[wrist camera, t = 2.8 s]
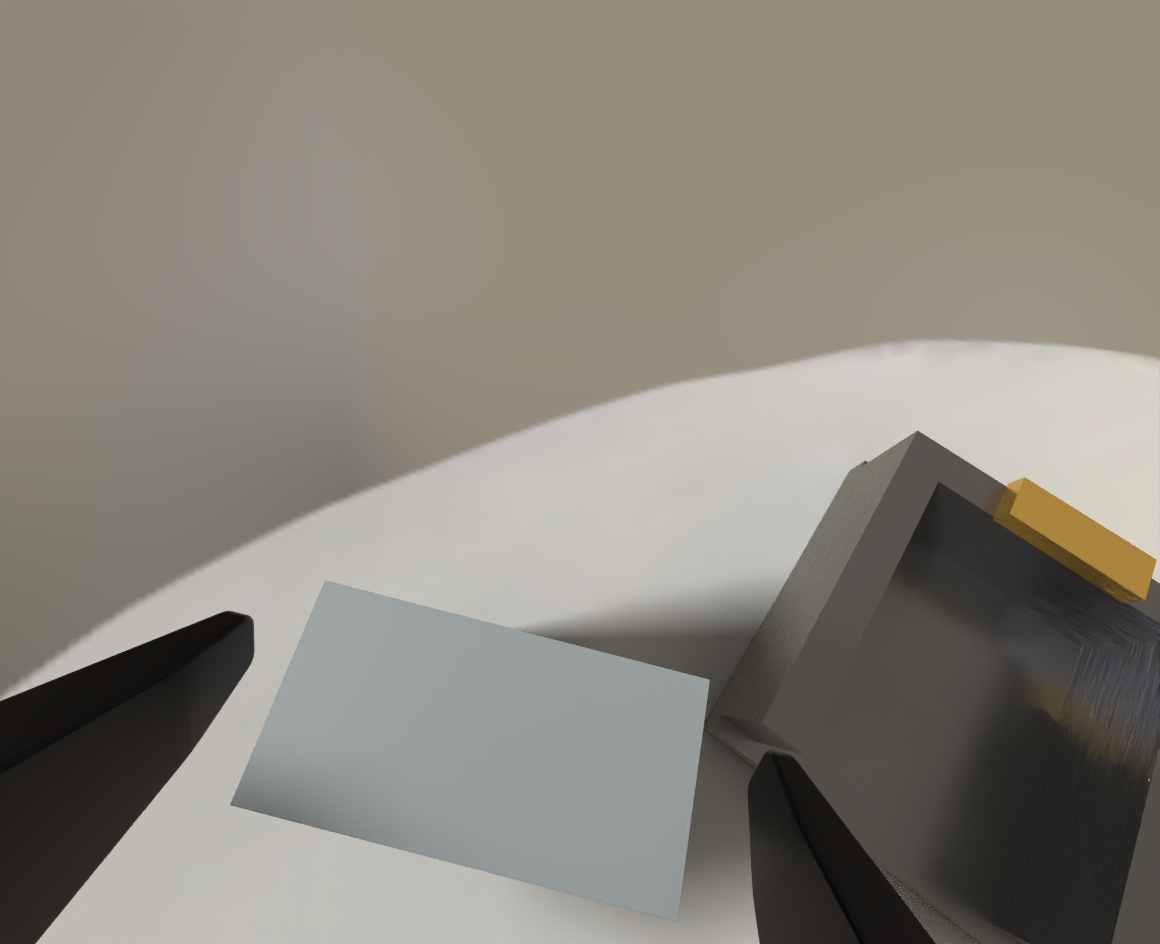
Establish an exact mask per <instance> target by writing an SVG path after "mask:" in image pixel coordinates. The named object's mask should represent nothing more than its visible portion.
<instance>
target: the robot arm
mask: <svg viewBox="0 0 1160 944" xmlns="http://www.w3.org/2000/svg"><path fill="white" fill-rule="evenodd" d="M253 657H254V622H253V619H252V618H251V617H250V616H249V615H245V614H241V613H237V612H233V611H225V612H222V613H219V614H217V615H214V616H212V617H209V618H207V619H204V620H202V621H199V622H197V623H194V624H192V625H189V626H187V627H184V628H182V629H179V630H177V631H174V632H172V633H169V634H167V635H164V636H162V637H159V638H157V639H154V640H152V641H149V642H147V643H144V644H142V645H139V646H137V647H134V648H132V649H129V650H127V651H124V652H122V653H119V654H117V655H114V656H112V657H109V658H107V659H104V660H102V661H99V662H97V663H94V664H92V665H89V666H87V667H84V668H82V669H79V670H77V671H74V672H72V673H69V674H67V675H64V676H62V677H59V678H57V679H54V680H52V681H49V682H47V683H44V684H42V685H39V686H37V687H34V688H32V689H29V690H27V691H24V692H22V693H19V694H17V695H14V696H12V697H9V698H7V699H4V700H2V701H0V944H36V942H37V941H38V940H39V939H40V937H41V936H42V935H43V934H44V933H45V931H46V930H47V929H48V928H49V926H50V925H51V924H52V923H53V921H54V920H55V919H56V918H57V917H58V915H59V914H60V913H61V912H62V910H63V909H64V908H65V907H66V906H67V904H68V903H69V902H70V901H71V899H72V898H73V897H74V896H75V895H76V893H77V892H78V891H79V890H80V888H81V887H82V886H83V885H84V884H85V882H86V881H87V880H88V879H89V877H90V876H91V875H92V874H93V872H94V871H95V870H96V869H97V868H98V866H99V865H100V864H101V863H102V861H103V860H104V859H105V858H106V857H107V855H108V854H109V853H110V852H111V850H112V849H113V848H114V847H115V846H116V844H117V843H118V842H119V841H120V839H121V838H122V837H123V836H124V834H125V833H126V832H127V831H128V830H129V828H130V827H131V826H132V825H133V823H134V822H135V821H136V820H137V819H138V817H139V816H140V815H141V814H142V812H143V811H144V810H145V809H146V808H147V806H148V805H149V804H150V803H151V801H152V800H153V799H154V798H155V796H156V795H157V794H158V793H159V792H160V790H161V789H162V788H163V787H164V785H165V784H166V783H167V782H168V781H169V779H170V778H171V777H172V776H173V774H174V773H175V772H176V771H177V770H178V768H179V767H180V766H181V765H182V763H183V762H184V761H185V759H186V758H187V757H188V756H189V754H190V753H191V752H192V750H193V749H194V748H195V746H196V745H197V743H198V742H199V741H200V739H201V738H202V736H203V735H204V733H205V732H206V730H207V729H208V727H209V726H210V724H211V723H212V721H213V720H214V718H215V717H216V715H217V714H218V713H219V711H220V710H221V708H222V707H223V705H224V704H225V702H226V701H227V699H228V698H229V696H230V695H231V693H232V692H233V690H234V689H235V687H236V686H237V684H238V683H239V681H240V680H241V678H242V677H243V675H244V674H245V672H246V671H247V669H248V668H249V666H250V664H251V662H252V660H253ZM748 811H749V831H750V850H751V870H752V886H753V898H754V906H755V914H756V921H757V928H758V935H759V942H760V944H936V943H935V942H934V941H933V939H932V938H931V937H930V936H929V934H928V933H927V932H926V930H925V929H924V928H923V926H922V925H921V924H920V922H919V921H918V920H917V918H916V917H915V916H914V914H913V913H912V912H911V911H910V909H909V908H908V907H907V905H906V904H905V903H904V901H903V900H902V899H901V897H900V896H899V895H898V893H897V892H896V891H895V889H894V888H893V887H892V885H891V884H890V883H889V882H888V880H887V879H886V878H885V876H884V875H883V874H882V872H881V871H880V870H879V868H878V867H877V866H876V864H875V863H874V862H873V860H872V859H871V858H870V856H869V855H868V854H867V853H866V851H865V850H864V849H863V847H862V846H861V845H860V843H859V842H858V841H857V839H856V838H855V837H854V835H853V834H852V833H851V831H850V830H849V829H848V828H847V826H846V825H845V824H844V822H843V821H842V820H841V818H840V817H839V816H838V814H837V813H836V812H835V810H834V809H833V808H832V806H831V805H830V804H829V802H828V801H827V800H826V799H825V797H824V796H823V795H822V793H821V792H820V791H819V789H818V788H817V787H816V785H815V784H814V783H813V781H812V780H811V779H810V777H809V776H808V775H807V774H806V772H805V771H804V770H803V768H802V767H801V766H800V764H799V763H798V762H797V760H796V759H795V758H794V757H793V756H791V755H789V754H785V753H782V752H778V751H774V750H768V751H767V752H765V754H764V755H763V757H762V759H761V761H760V762H759V764H758V766H757V768H756V770H755V772H754V774H753V776H752V778H751V780H750V782H749V786H748Z"/></svg>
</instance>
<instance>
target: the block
mask: <svg viewBox="0 0 1160 944" xmlns="http://www.w3.org/2000/svg"><path fill="white" fill-rule="evenodd" d="M709 683H710V680H709V679H705V678H701V677H698V676H694V675H690V674H686V673H682V672H678V671H674V670H670V669H667V668H663V667H659V666H655V665H651V664H647V663H643V662H639V661H635V660H632V659H628V658H624V657H620V656H616V655H612V654H608V653H604V652H601V651H597V650H593V649H589V648H585V647H581V646H577V645H573V644H570V643H566V642H562V641H558V640H554V639H550V638H546V637H542V636H538V635H535V634H531V633H527V632H523V631H519V630H515V629H511V628H507V627H504V626H500V625H496V624H492V623H488V622H484V621H480V620H476V619H472V618H469V617H465V616H461V615H457V614H453V613H449V612H445V611H441V610H438V609H434V608H430V607H426V606H422V605H418V604H414V603H410V602H406V601H403V600H399V599H395V598H391V597H387V596H383V595H379V594H375V593H372V592H368V591H364V590H360V589H356V588H352V587H348V586H344V585H341V584H337V583H333V582H329V581H325V582H324V584H323V587H322V589H321V591H320V594H319V596H318V598H317V601H316V603H315V605H314V608H313V610H312V613H311V615H310V617H309V620H308V622H307V624H306V627H305V629H304V632H303V634H302V636H301V639H300V641H299V643H298V646H297V648H296V650H295V653H294V655H293V658H292V660H291V662H290V665H289V667H288V669H287V672H286V674H285V676H284V679H283V681H282V684H281V686H280V688H279V691H278V693H277V695H276V698H275V700H274V703H273V705H272V707H271V710H270V712H269V714H268V717H267V719H266V721H265V724H264V726H263V729H262V731H261V733H260V736H259V738H258V740H257V743H256V745H255V748H254V750H253V752H252V755H251V757H250V759H249V762H248V764H247V766H246V769H245V771H244V774H243V776H242V778H241V781H240V783H239V785H238V788H237V790H236V792H235V795H234V797H233V800H232V802H231V804H230V805H232V806H236V807H239V808H243V809H247V810H251V811H255V812H259V813H262V814H266V815H270V816H274V817H278V818H282V819H286V820H289V821H293V822H297V823H301V824H305V825H309V826H312V827H316V828H320V829H324V830H328V831H332V832H335V833H339V834H343V835H347V836H351V837H355V838H358V839H362V840H366V841H370V842H374V843H378V844H381V845H385V846H389V847H393V848H397V849H401V850H404V851H408V852H412V853H416V854H420V855H424V856H428V857H431V858H435V859H439V860H443V861H447V862H451V863H454V864H458V865H462V866H466V867H470V868H474V869H477V870H481V871H485V872H489V873H493V874H497V875H500V876H504V877H508V878H512V879H516V880H520V881H523V882H527V883H531V884H535V885H539V886H543V887H546V888H550V889H554V890H558V891H562V892H566V893H569V894H573V895H577V896H581V897H585V898H589V899H593V900H596V901H600V902H604V903H608V904H612V905H616V906H619V907H623V908H627V909H631V910H635V911H639V912H642V913H646V914H650V915H654V916H658V917H662V918H665V919H669V920H673V921H678V914H679V906H680V899H681V891H682V884H683V876H684V869H685V862H686V854H687V847H688V839H689V832H690V824H691V817H692V809H693V802H694V794H695V787H696V780H697V772H698V765H699V757H700V750H701V742H702V735H703V727H704V720H705V713H706V705H707V698H708V690H709Z"/></svg>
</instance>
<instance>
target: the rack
mask: <svg viewBox="0 0 1160 944" xmlns="http://www.w3.org/2000/svg"><path fill="white" fill-rule="evenodd" d="M1155 564H1156V559H1154V558H1153V557H1151V556H1150V555H1148V554H1146V553H1145V552H1143V551H1142V550H1140V549H1138V548H1137V547H1135V546H1134V545H1132V544H1130V543H1129V542H1127V541H1126V540H1124V539H1122V538H1121V537H1119V536H1118V535H1116V534H1114V533H1113V532H1111V531H1110V530H1108V529H1106V528H1105V527H1103V526H1102V525H1100V524H1098V523H1097V522H1095V521H1094V520H1092V519H1090V518H1089V517H1087V516H1086V515H1084V514H1082V513H1081V512H1079V511H1078V510H1076V509H1074V508H1073V507H1071V506H1070V505H1068V504H1066V503H1065V502H1063V501H1062V500H1060V499H1058V498H1057V497H1055V496H1054V495H1052V494H1051V493H1049V492H1047V491H1046V490H1044V489H1043V488H1041V487H1039V486H1038V485H1036V484H1035V483H1033V482H1031V481H1030V480H1028V479H1027V478H1025V477H1024V478H1022V479H1019V480H1017V481H1015V482H1012V483H1010V484H1008V485H1007V487H1006V486H1005V485H1003V484H1001V483H1000V482H998V481H997V480H995V479H993V478H992V477H990V476H989V475H987V474H986V473H984V472H982V471H981V470H979V469H978V468H976V467H974V466H973V465H971V464H970V463H968V462H967V461H965V460H963V459H962V458H960V457H959V456H957V455H955V454H954V453H952V452H951V451H949V450H948V449H946V448H944V447H943V446H941V445H940V444H938V443H936V442H935V441H933V440H932V439H930V438H929V437H927V436H925V435H924V434H922V433H921V432H919V431H916V432H915V433H913V434H912V435H910V436H909V437H907V438H905V439H904V440H902V441H901V442H899V443H898V444H896V445H895V446H893V447H892V448H890V449H888V450H887V451H885V452H884V453H882V454H881V455H879V456H878V457H876V458H874V459H873V460H871V461H870V462H867V461H864V462H862V463H861V464H859V465H858V466H856V467H855V468H853V469H852V470H850V472H849V473H848V475H847V477H846V479H845V480H844V482H843V484H842V485H841V487H840V489H839V491H838V492H837V494H836V496H835V498H834V499H833V501H832V503H831V505H830V506H829V508H828V510H827V512H826V513H825V515H824V517H823V519H822V520H821V522H820V524H819V526H818V527H817V529H816V531H815V533H814V534H813V536H812V538H811V540H810V541H809V543H808V545H807V546H806V548H805V550H804V552H803V553H802V555H801V557H800V559H799V560H798V562H797V564H796V566H795V567H794V569H793V571H792V573H791V574H790V576H789V578H788V580H787V581H786V583H785V585H784V587H783V588H782V590H781V592H780V594H779V595H778V597H777V599H776V601H775V602H774V604H773V606H772V607H771V609H770V611H769V613H768V614H767V616H766V618H765V620H764V621H763V623H762V625H761V627H760V628H759V630H758V632H757V634H756V635H755V637H754V639H753V641H752V642H751V644H750V646H749V648H748V649H747V651H746V653H745V655H744V656H743V658H742V660H741V662H740V663H739V665H738V667H737V668H736V670H735V672H734V674H733V675H732V677H731V679H730V681H729V682H728V684H727V686H726V688H725V689H724V691H723V693H722V695H721V696H720V698H719V700H718V702H717V703H716V705H715V707H714V709H713V710H712V712H711V714H710V716H709V717H708V719H707V721H706V723H705V724H704V727H703V728H704V729H705V730H706V731H708V732H709V733H710V734H712V735H713V736H714V737H715V738H717V739H718V740H719V741H721V742H722V743H723V744H724V745H726V746H727V747H728V748H729V749H731V750H732V751H733V752H735V753H736V754H737V755H738V756H740V757H741V758H742V759H744V760H745V761H746V762H747V763H749V764H750V765H751V766H753V767H754V768H755V769H756V768H757V766H758V764H759V762H760V761H761V759H762V757H763V755H764V754H765V752H767V751H768V750H774V751H778V752H782V753H785V754H789V755H791V756H793V757H794V758H795V759H796V760H797V762H798V763H799V764H800V766H801V767H802V768H803V770H804V771H805V772H806V774H807V775H808V776H809V777H810V779H811V780H812V781H813V783H814V784H815V785H816V787H817V788H818V789H819V791H820V792H821V793H822V795H823V796H824V797H825V799H826V800H827V801H828V802H829V804H830V805H831V806H832V808H833V809H834V810H835V812H836V813H837V814H838V816H839V817H840V818H841V820H842V821H843V822H844V824H845V825H846V826H847V828H848V829H849V830H850V831H851V833H852V834H853V835H854V837H855V838H856V839H857V841H858V842H859V843H860V845H861V846H862V847H863V849H864V850H865V851H866V853H867V854H868V855H869V856H870V858H871V859H872V860H873V861H874V862H876V863H877V864H878V865H880V866H881V867H882V868H883V869H885V870H886V871H887V872H889V873H890V874H891V875H892V876H894V877H895V878H896V879H898V880H899V881H900V882H901V883H903V884H904V885H905V886H907V887H908V888H909V889H910V890H912V891H913V892H914V893H916V894H917V895H918V896H919V897H921V898H922V899H923V900H925V901H926V902H927V903H928V904H930V905H931V906H932V907H934V908H935V909H936V910H937V911H939V912H940V913H941V914H942V915H944V916H945V917H946V918H948V919H949V920H950V921H951V922H953V923H954V924H955V925H957V926H958V927H959V928H960V929H962V930H963V931H964V932H966V933H967V934H968V935H969V936H971V937H972V938H973V939H975V940H976V941H977V942H978V943H980V944H1160V583H1158V582H1156V581H1155V580H1153V579H1152V574H1153V571H1154V567H1155Z"/></svg>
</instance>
